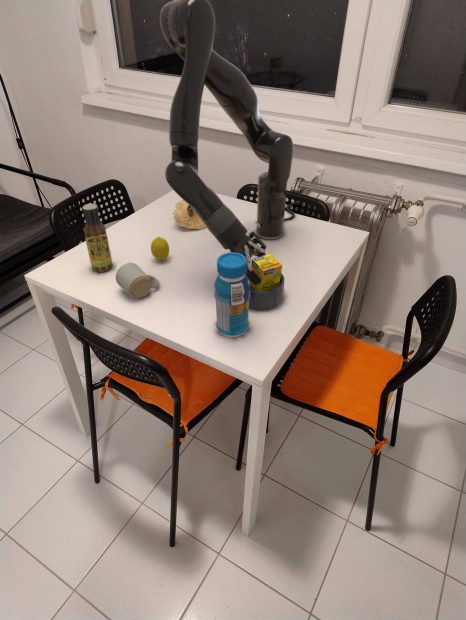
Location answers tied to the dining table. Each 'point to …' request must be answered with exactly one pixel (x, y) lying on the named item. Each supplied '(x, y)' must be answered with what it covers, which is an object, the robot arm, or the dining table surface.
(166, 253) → the lemon
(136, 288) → the ceramic mug
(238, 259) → the beverage bottle
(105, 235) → the sauce bottle
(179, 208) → the tan lumpy rounded piece
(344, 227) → the dining table surface
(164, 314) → the dining table surface
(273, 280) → the supplement box
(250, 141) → the robot arm
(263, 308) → the dark blue bowl
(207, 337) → the dining table surface
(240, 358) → the dining table surface
